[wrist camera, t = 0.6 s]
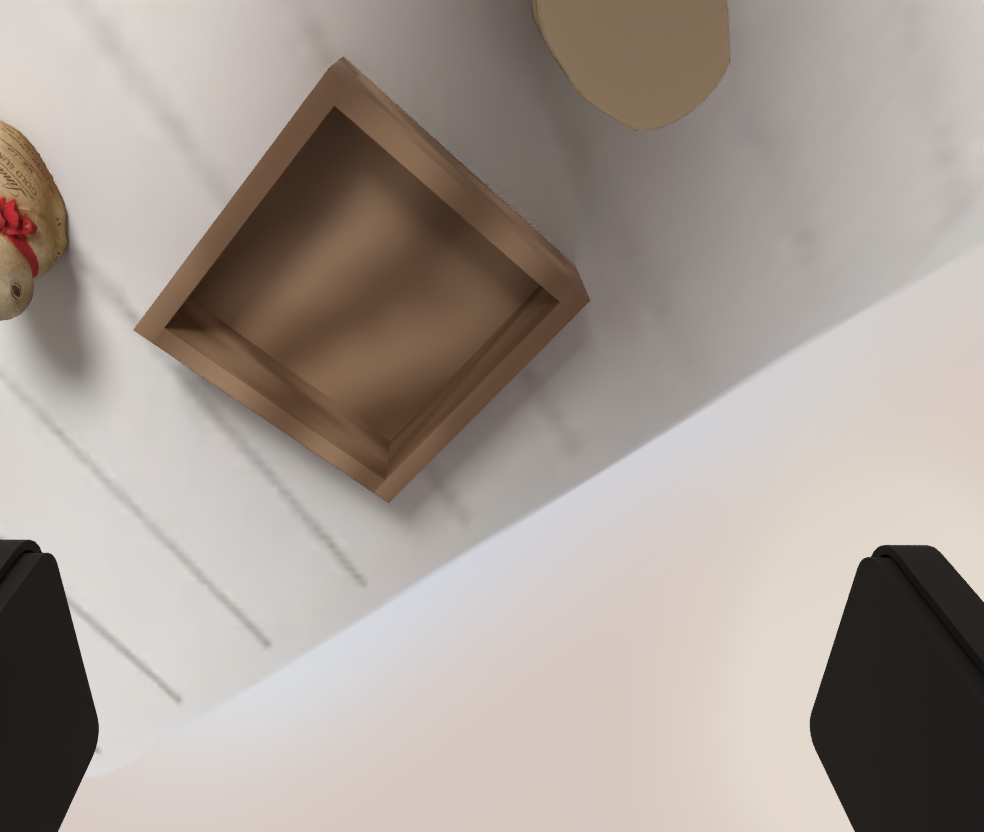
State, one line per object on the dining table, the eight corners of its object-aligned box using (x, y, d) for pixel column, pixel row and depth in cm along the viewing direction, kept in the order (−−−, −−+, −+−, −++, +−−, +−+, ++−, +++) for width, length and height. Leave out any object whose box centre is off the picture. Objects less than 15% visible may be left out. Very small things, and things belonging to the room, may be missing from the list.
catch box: (166, 292, 42) (133, 329, 37) (343, 56, 37) (329, 68, 32) (394, 453, 47) (388, 502, 43) (575, 266, 42) (590, 300, 38)
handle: (562, 95, 38) (622, 161, 25) (481, -30, 35) (501, -32, 22) (650, 28, 37) (761, 59, 24) (573, -107, 34) (650, -156, 21)
